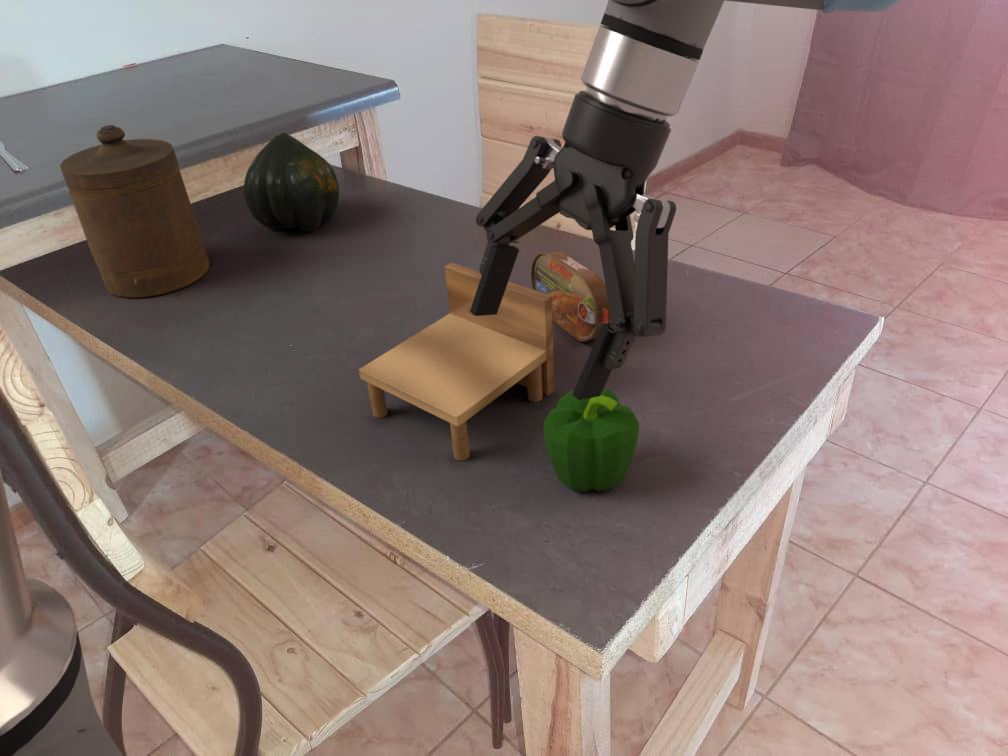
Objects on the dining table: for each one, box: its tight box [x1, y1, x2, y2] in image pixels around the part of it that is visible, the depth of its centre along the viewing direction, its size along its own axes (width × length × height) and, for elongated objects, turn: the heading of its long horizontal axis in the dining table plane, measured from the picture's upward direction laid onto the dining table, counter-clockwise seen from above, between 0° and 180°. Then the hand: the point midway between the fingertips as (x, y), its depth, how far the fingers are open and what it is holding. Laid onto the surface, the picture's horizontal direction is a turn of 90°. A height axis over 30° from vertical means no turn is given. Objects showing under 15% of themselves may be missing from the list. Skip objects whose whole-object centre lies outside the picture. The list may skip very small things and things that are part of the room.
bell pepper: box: [543, 388, 640, 493], centre depth 71 cm, size 8×8×10 cm
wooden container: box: [59, 124, 210, 298], centre depth 110 cm, size 15×15×22 cm
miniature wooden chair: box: [358, 262, 555, 462], centre depth 82 cm, size 15×14×12 cm
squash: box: [243, 131, 340, 232], centre depth 126 cm, size 14×15×15 cm
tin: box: [530, 250, 612, 343], centre depth 95 cm, size 15×3×8 cm, turn 28°
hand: (531, 352), depth 66 cm, fingers open, 13 cm apart
